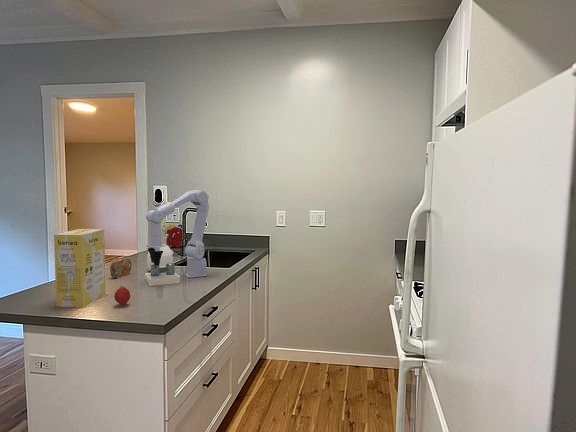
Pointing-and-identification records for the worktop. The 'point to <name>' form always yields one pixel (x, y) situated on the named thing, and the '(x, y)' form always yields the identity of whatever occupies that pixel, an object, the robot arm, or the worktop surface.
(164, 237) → the flower in vase
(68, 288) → the pasta box
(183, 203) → the robot arm
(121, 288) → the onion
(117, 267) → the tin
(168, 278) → the kitchen scale
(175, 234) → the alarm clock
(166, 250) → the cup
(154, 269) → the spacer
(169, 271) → the cylinder
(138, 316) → the worktop surface
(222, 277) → the worktop surface
